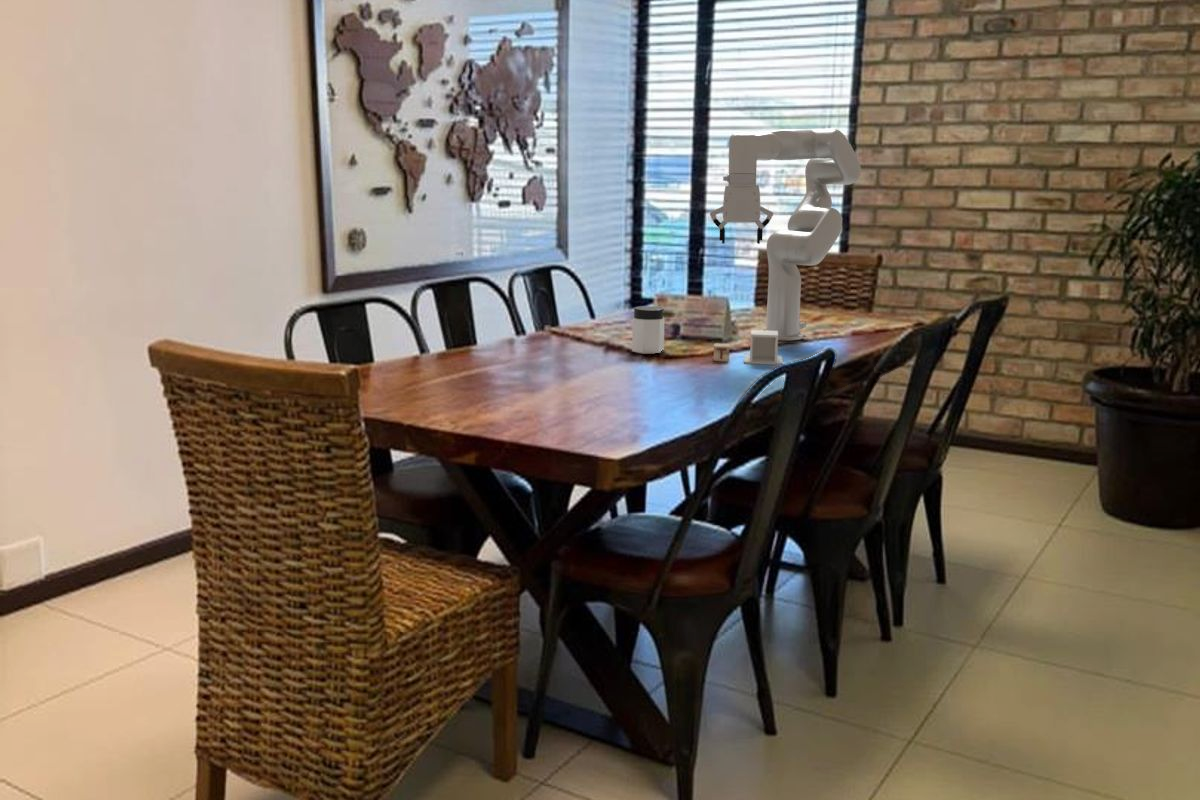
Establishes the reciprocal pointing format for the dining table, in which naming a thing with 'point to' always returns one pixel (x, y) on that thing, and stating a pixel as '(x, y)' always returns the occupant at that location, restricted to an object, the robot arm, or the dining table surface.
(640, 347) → the jar
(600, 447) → the dining table surface
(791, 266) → the robot arm
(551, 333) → the dining table surface
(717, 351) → the letter cube
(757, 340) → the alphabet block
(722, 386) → the dining table surface
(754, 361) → the mat
